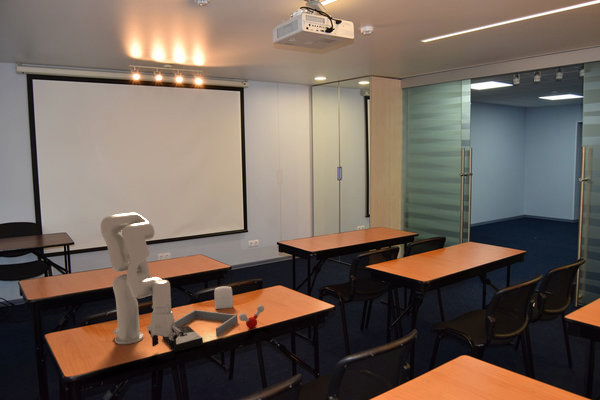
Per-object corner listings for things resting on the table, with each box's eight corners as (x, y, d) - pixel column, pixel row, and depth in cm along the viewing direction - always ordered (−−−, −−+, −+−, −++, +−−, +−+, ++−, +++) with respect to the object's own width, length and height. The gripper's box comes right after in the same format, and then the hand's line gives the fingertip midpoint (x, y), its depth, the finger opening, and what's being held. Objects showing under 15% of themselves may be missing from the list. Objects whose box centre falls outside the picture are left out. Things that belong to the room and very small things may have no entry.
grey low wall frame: (173, 330, 216) (172, 322, 215) (195, 317, 233) (195, 309, 233) (218, 336, 206) (217, 328, 206) (237, 322, 224) (237, 314, 224)
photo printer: (214, 309, 244) (213, 288, 243) (215, 307, 249) (214, 286, 248) (233, 308, 246) (232, 287, 245) (233, 305, 250) (232, 284, 249)
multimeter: (188, 332, 213) (188, 322, 213) (203, 345, 197) (203, 334, 197) (162, 339, 206) (161, 329, 205) (175, 353, 190) (174, 342, 190)
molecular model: (247, 335, 206) (246, 315, 205) (237, 333, 209) (236, 313, 208) (266, 323, 222) (265, 304, 221) (256, 321, 224) (255, 302, 223)
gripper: (140, 309, 188) (142, 347, 189) (173, 313, 181) (175, 353, 183) (152, 304, 195) (154, 340, 196) (184, 308, 188) (185, 345, 190)
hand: (164, 346), depth 189 cm, fingers open, 9 cm apart
